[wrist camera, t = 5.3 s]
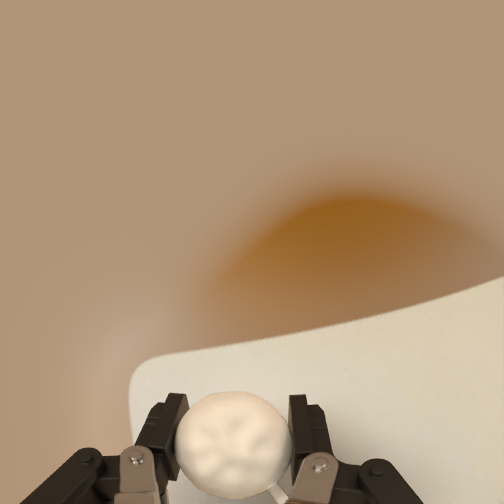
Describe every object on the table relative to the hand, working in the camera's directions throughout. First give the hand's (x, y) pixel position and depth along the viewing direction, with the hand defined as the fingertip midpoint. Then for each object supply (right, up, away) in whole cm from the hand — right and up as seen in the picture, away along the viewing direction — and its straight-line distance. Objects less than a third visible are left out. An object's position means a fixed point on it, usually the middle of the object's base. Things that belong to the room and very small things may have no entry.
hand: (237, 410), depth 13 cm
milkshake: (0, -5, +4) cm, 7 cm away
